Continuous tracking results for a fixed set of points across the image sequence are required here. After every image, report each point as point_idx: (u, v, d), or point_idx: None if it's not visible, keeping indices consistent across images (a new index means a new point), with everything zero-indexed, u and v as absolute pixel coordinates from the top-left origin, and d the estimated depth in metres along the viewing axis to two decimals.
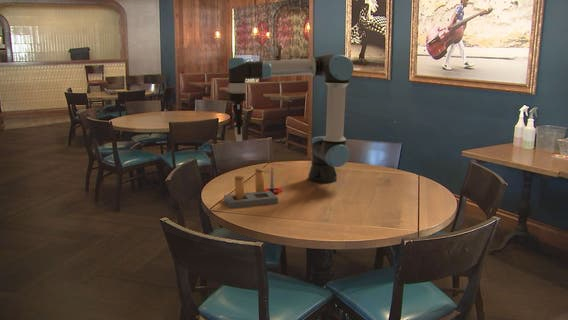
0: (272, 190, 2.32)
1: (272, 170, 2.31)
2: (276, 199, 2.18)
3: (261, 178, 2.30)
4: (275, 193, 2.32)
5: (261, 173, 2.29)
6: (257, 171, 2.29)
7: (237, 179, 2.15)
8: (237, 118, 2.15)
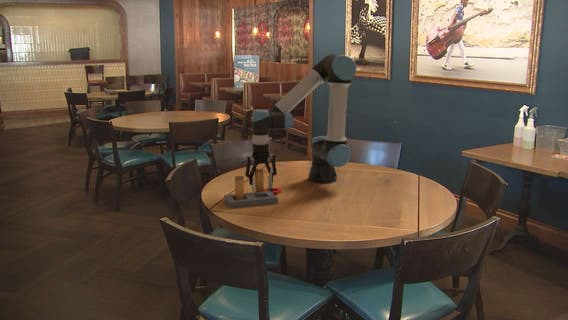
0: (271, 190, 2.31)
1: (271, 170, 2.30)
2: (276, 199, 2.18)
3: (261, 178, 2.30)
4: (274, 193, 2.31)
5: (261, 173, 2.29)
6: (256, 171, 2.29)
7: (237, 179, 2.15)
8: (246, 169, 2.29)
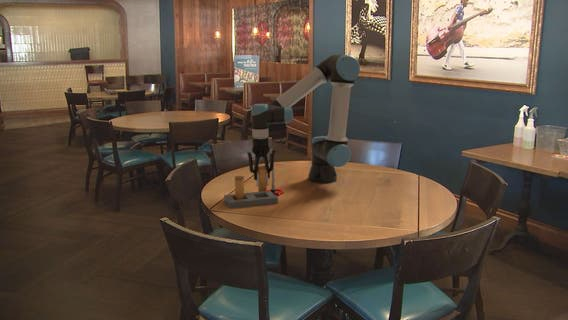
0: (273, 191, 2.30)
1: (273, 171, 2.29)
2: (276, 199, 2.18)
3: (263, 175, 2.30)
4: (276, 194, 2.30)
5: (263, 170, 2.29)
6: (258, 169, 2.29)
7: (237, 179, 2.15)
8: (249, 165, 2.29)
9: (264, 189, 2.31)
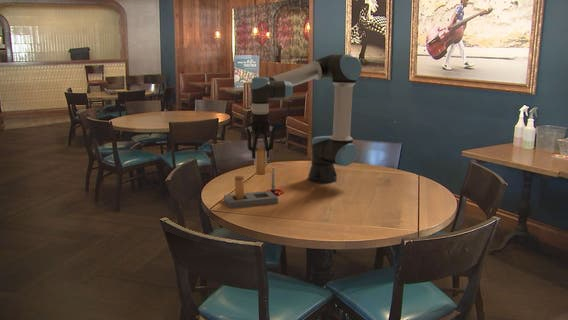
0: (273, 191, 2.30)
1: (273, 171, 2.29)
2: (276, 199, 2.18)
3: (261, 157, 2.16)
4: (276, 194, 2.30)
5: (261, 152, 2.15)
6: (257, 150, 2.15)
7: (237, 179, 2.15)
8: (247, 142, 2.15)
9: (262, 172, 2.17)
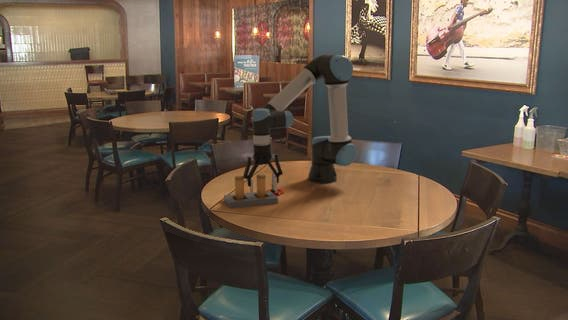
0: (273, 191, 2.30)
1: None
2: (276, 199, 2.18)
3: (262, 185, 2.18)
4: (276, 194, 2.30)
5: (262, 179, 2.18)
6: (257, 178, 2.18)
7: (237, 179, 2.15)
8: (245, 170, 2.17)
9: None
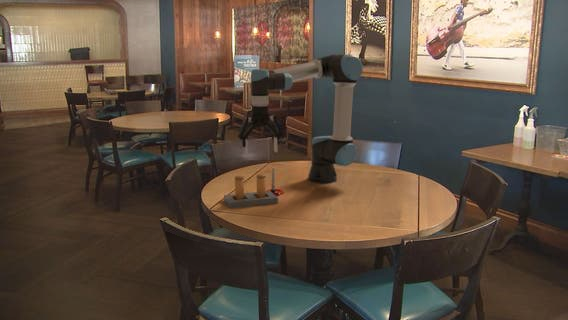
0: (273, 191, 2.30)
1: (273, 171, 2.29)
2: (276, 199, 2.18)
3: (262, 185, 2.18)
4: (276, 194, 2.30)
5: (262, 179, 2.18)
6: (257, 178, 2.18)
7: (237, 179, 2.15)
8: (240, 130, 2.13)
9: None
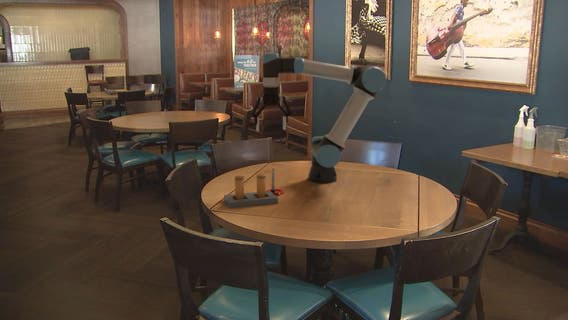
0: (273, 191, 2.30)
1: (273, 171, 2.29)
2: (276, 199, 2.18)
3: (262, 185, 2.18)
4: (276, 194, 2.30)
5: (262, 179, 2.18)
6: (257, 177, 2.18)
7: (237, 179, 2.15)
8: None
9: None
